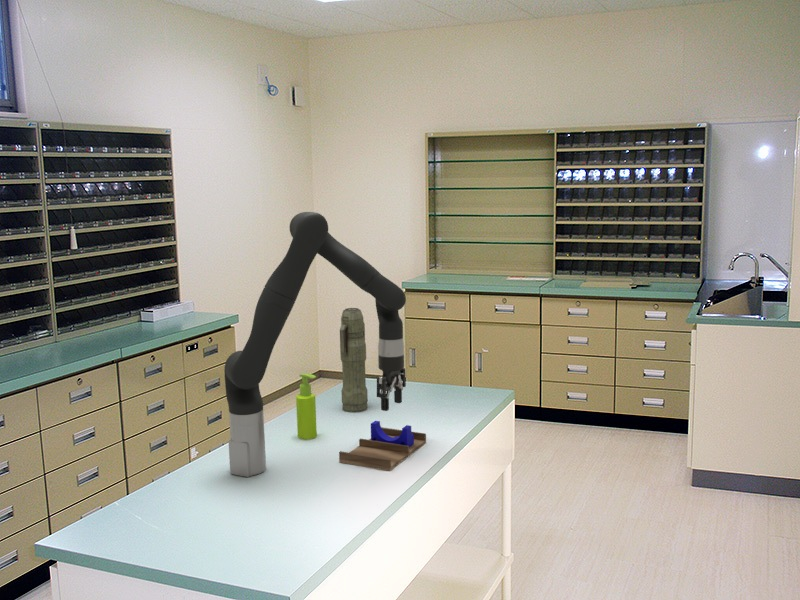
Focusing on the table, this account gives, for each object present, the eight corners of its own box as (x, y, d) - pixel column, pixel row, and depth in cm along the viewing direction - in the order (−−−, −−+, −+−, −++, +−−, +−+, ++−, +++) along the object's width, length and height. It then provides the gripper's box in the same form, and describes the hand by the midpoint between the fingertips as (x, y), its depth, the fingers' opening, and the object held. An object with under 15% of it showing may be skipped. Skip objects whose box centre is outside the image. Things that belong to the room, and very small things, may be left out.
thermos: (334, 411, 268) (331, 311, 262) (352, 402, 278) (349, 305, 272) (357, 415, 264) (354, 312, 258) (374, 405, 274) (371, 307, 268)
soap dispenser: (310, 441, 239) (307, 377, 235) (293, 437, 243) (291, 374, 240) (323, 436, 243) (320, 373, 240) (307, 432, 247) (304, 370, 244)
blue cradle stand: (413, 443, 232) (413, 424, 231) (407, 448, 228) (406, 428, 227) (378, 438, 237) (377, 419, 236) (371, 442, 233) (370, 423, 232)
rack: (389, 470, 214) (389, 460, 213) (339, 462, 221) (339, 452, 220) (426, 443, 235) (425, 433, 235) (378, 436, 242) (378, 426, 242)
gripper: (391, 359, 221) (392, 414, 223) (413, 349, 233) (413, 401, 236) (368, 356, 224) (369, 411, 226) (390, 347, 236) (391, 398, 239)
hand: (391, 406), depth 231 cm, fingers open, 8 cm apart
